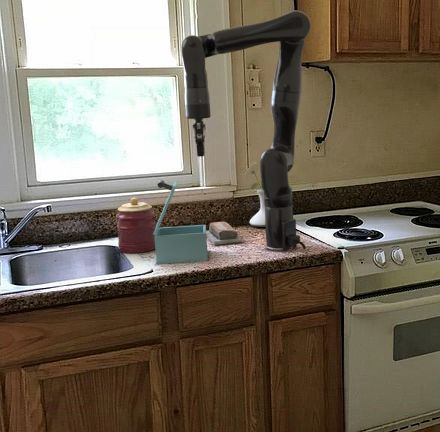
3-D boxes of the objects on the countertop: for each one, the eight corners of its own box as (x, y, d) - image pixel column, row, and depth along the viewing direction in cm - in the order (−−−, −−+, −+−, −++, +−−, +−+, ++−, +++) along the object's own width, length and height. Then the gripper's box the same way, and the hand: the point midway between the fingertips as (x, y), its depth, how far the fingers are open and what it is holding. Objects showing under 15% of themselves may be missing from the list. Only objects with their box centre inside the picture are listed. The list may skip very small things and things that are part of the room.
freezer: (207, 250, 211) (205, 224, 209) (207, 260, 199) (205, 233, 197) (159, 253, 209) (157, 227, 207) (156, 264, 197) (154, 236, 195)
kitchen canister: (146, 242, 226) (142, 193, 223) (164, 248, 217) (160, 196, 213) (112, 249, 218) (107, 198, 215) (130, 255, 208) (125, 202, 205)
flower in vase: (267, 221, 253) (264, 158, 249) (285, 225, 245) (282, 160, 240) (240, 226, 246) (236, 162, 241) (257, 231, 237) (253, 164, 232)
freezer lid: (177, 180, 205) (162, 174, 204) (176, 186, 193) (159, 179, 192) (158, 226, 207) (142, 220, 206) (155, 235, 195) (138, 228, 194)
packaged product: (203, 222, 233) (230, 219, 236) (204, 235, 234) (231, 232, 237) (213, 232, 216) (241, 229, 219) (214, 246, 217) (242, 242, 220)
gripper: (209, 102, 191) (213, 156, 194) (209, 101, 205) (212, 152, 208) (184, 103, 190) (188, 158, 193) (186, 102, 204) (189, 153, 207)
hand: (200, 155), depth 201 cm, fingers open, 8 cm apart
